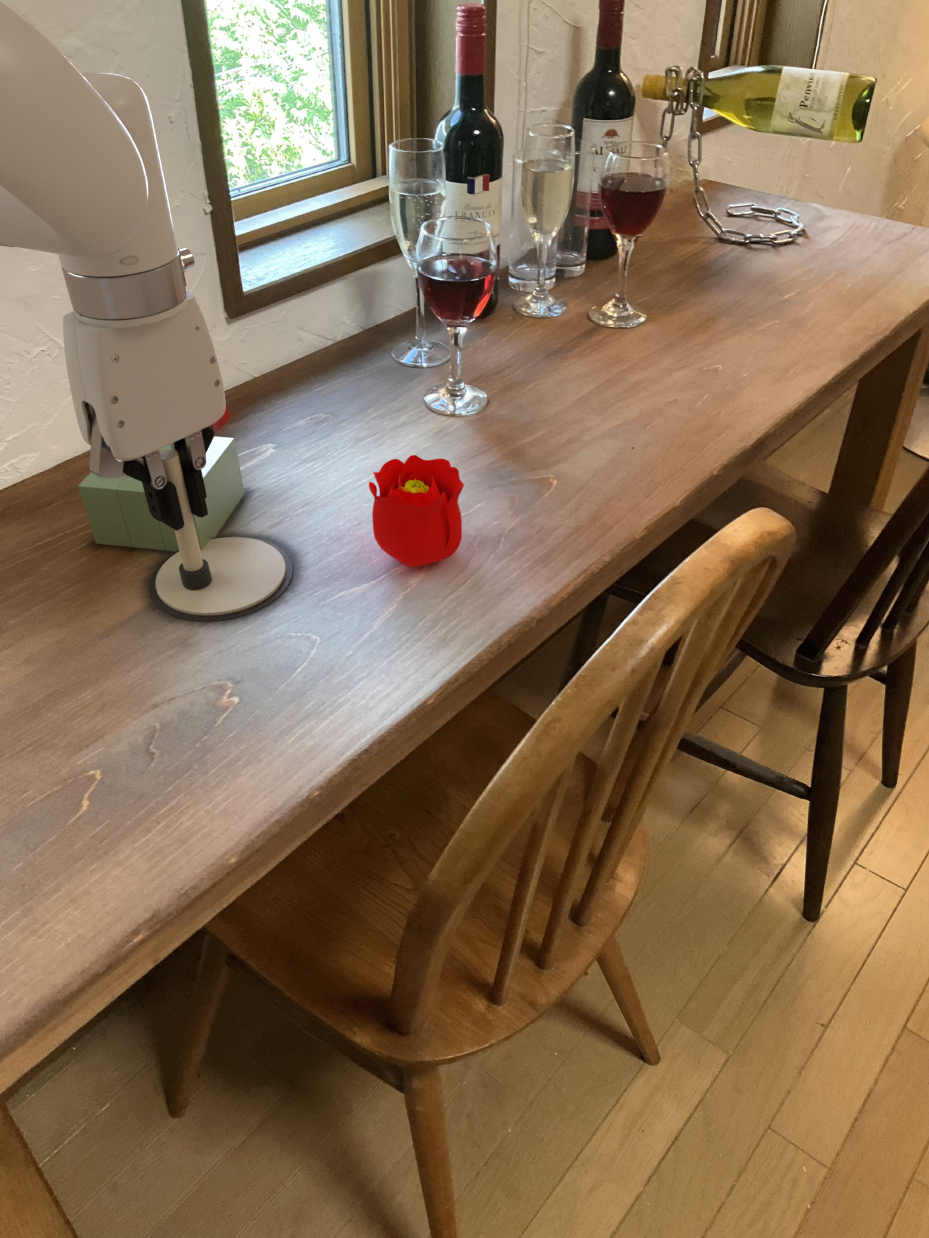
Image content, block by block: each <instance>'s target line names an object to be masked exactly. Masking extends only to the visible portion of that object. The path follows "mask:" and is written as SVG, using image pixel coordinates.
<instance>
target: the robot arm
mask: <svg viewBox="0 0 929 1238" xmlns="http://www.w3.org/2000/svg"><path fill="white" fill-rule="evenodd" d="M157 141H158V140H157V135H156V130H155V126H154V122H153V116H152V112H151V108H150V104H149V100H148V97H147V95H146V94H145V91H144V90H143V88H141V86H140V85H139V84H138V83H137V82H136V81H134V80H133V79H131V78H130V77H127V76H126V75H125V76H124V75H121V74H116V73H110V72H81V71H79V70H78V68H76V66H74V65H73V64H72V62H71V61H70V60H69V59H68V58H67V57H66V56H65V55H64V54H63V53H62V51H60V50H59V49H58V48H57V46H55V44H53V43H52V42H51V40H49V39H48V38H47V37H46V36H45V35H44V34H42V33H41V32H40V31H39V30H38V29H37V28H36V27H34V26H33V25H32V24H31V23H29V22H28V20H26V19H24V17H22V16H21V15H19V14H18V13H16V12H15V11H14V10H13V9H11V8H10V7H9V6H7V5H6V4H4V3H3V2H2V1H0V246H2V247H8V248H20V249H27V250H33V251H38V252H45V253H51V254H55V255H57V256H58V259H59V262H60V266H61V271H62V274H63V278H64V282H65V285H66V289H67V293H68V296H69V299H70V303H71V307H72V311H70V312H68V313H66V314H64V315H63V316H62V330H63V331H62V333H63V346H64V347H63V349H64V359H65V365H66V371H67V378H68V384H69V389H70V393H71V394H70V395H71V398H72V399H71V400H72V403H73V407H74V412H75V416H76V421H77V424H78V428H79V431H80V434H81V437H82V439H83V440H84V442H85V443H86V444H88V445H89V446H90V449H89V453H90V454H89V467H88V468H89V471H90V473H91V472H92V473H94V474H96V475H97V476H99V477H101V478H118V477H123V476H129V477H132V478H134V479H136V480H138V481H141V482H142V484H143V488H144V492H145V496H146V500H147V504H148V508H149V511H150V513H151V515H152V516H153V518H155V519H156V520H158V521H161V522H163V523H164V524H166V525H168V526H169V527H171V528H173V529H175V530H176V531H178V530H179V529H181V528H183V525H184V520H183V515H182V511H181V507H180V502H179V498H178V494H177V490H176V486H175V485H174V484H173V483H171V482H169V481H168V480H167V477H166V474H165V470H164V466H163V463H162V459H161V455H160V452H159V449H160V448H163V447H165V446H167V445H169V444H170V445H171V450H175V451H177V452H178V455H179V460H180V464H181V468H182V473H183V477H184V481H185V486H186V490H187V495H188V499H189V503H190V508H191V512H192V514H194V515H196V516H197V517H201V518H203V517H204V516H206V515H208V510H207V505H206V500H205V499H206V498H207V494H206V489H205V485H204V480H203V475H202V471H201V469H203V468H204V467H205V465H206V462H207V460H206V452H207V450H208V448H209V446H210V444H211V442H212V440H213V438H214V437H215V434H218V433H219V432H220V431H221V429H223V428H224V427H225V426H226V425H227V424H228V423H230V421H231V420H232V412H231V410H230V409H229V407H228V406H227V403H226V395H225V394H226V393H225V387H224V382H223V381H224V380H223V377H222V372H221V368H220V365H219V361H218V357H217V353H216V349H215V346H214V342H213V339H212V337H211V334H210V330H209V328H208V325H207V322H206V319H205V317H204V315H203V313H202V309H201V308H200V305H199V303H198V301H197V298H196V297H195V295H194V293H193V292H192V291H191V290H190V289H187V288H186V287H187V281H186V277H185V273H186V272H187V270H189V269H193V268H194V267H195V263H196V262H195V257H194V254H193V252H191V250H190V249H188V248H182V249H180V248H179V247H178V244H177V239H176V233H175V232H176V231H175V227H174V224H173V217H172V212H171V207H170V203H169V202H170V201H169V197H168V192H167V187H166V186H167V185H166V181H165V177H164V171H163V166H162V161H161V156H160V151H159V147H158V142H157Z"/></svg>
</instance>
